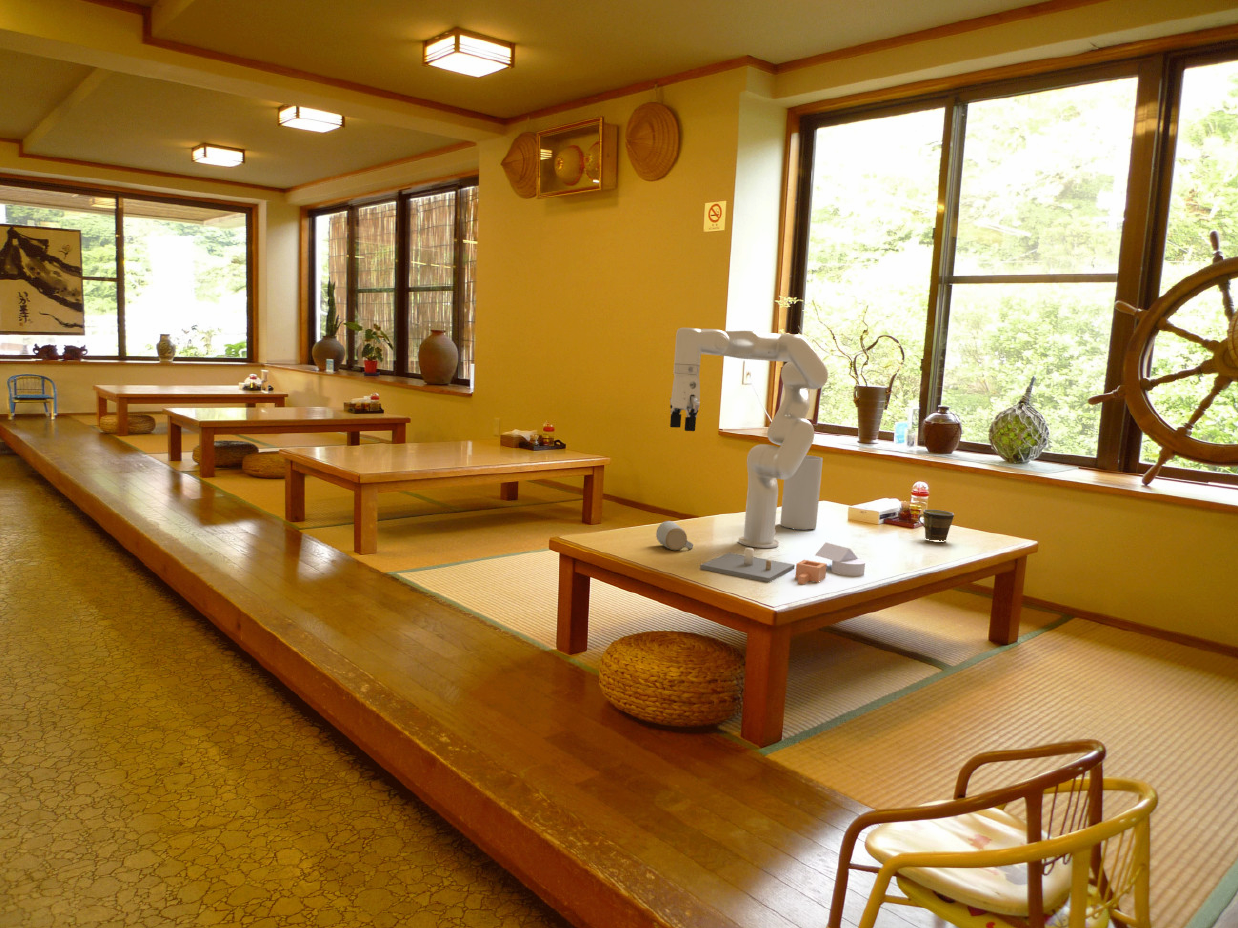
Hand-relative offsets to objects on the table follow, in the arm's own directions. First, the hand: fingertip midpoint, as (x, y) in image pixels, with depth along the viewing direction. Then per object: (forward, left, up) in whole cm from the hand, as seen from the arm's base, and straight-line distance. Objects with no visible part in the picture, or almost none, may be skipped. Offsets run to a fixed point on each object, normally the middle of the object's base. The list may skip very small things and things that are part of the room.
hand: (682, 429), depth 258 cm
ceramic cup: (-79, +59, -36) cm, 105 cm away
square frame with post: (+5, +43, -36) cm, 57 cm away
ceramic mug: (-2, -1, -36) cm, 37 cm away
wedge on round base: (-13, +47, -36) cm, 61 cm away
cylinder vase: (-65, +16, -36) cm, 76 cm away
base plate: (+6, +26, -36) cm, 45 cm away
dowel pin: (+7, +33, -35) cm, 48 cm away
